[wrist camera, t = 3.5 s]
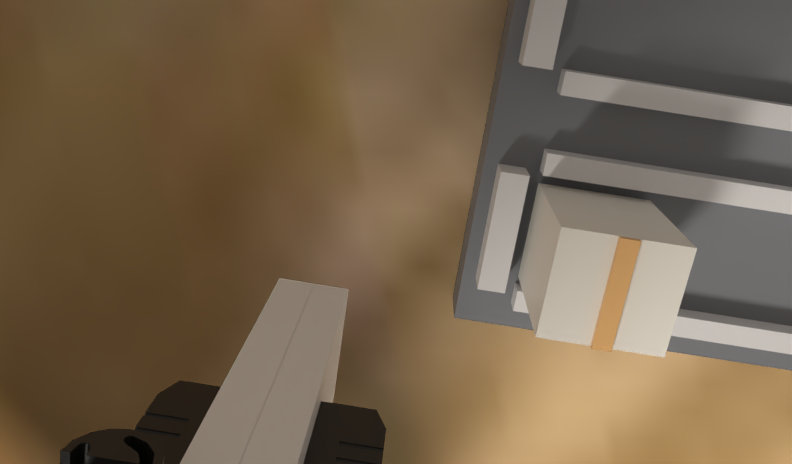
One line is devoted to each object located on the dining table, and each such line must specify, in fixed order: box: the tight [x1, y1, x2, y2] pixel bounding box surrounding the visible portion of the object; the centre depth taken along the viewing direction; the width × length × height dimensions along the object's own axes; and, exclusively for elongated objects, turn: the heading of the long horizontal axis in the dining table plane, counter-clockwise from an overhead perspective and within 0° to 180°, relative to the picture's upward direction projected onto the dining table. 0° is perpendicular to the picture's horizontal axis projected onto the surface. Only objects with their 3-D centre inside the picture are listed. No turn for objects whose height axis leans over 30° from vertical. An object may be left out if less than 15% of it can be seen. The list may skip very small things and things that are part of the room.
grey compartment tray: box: [453, 0, 792, 370], centre depth 26 cm, size 20×16×3 cm
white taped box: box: [518, 183, 697, 357], centre depth 24 cm, size 4×4×5 cm
